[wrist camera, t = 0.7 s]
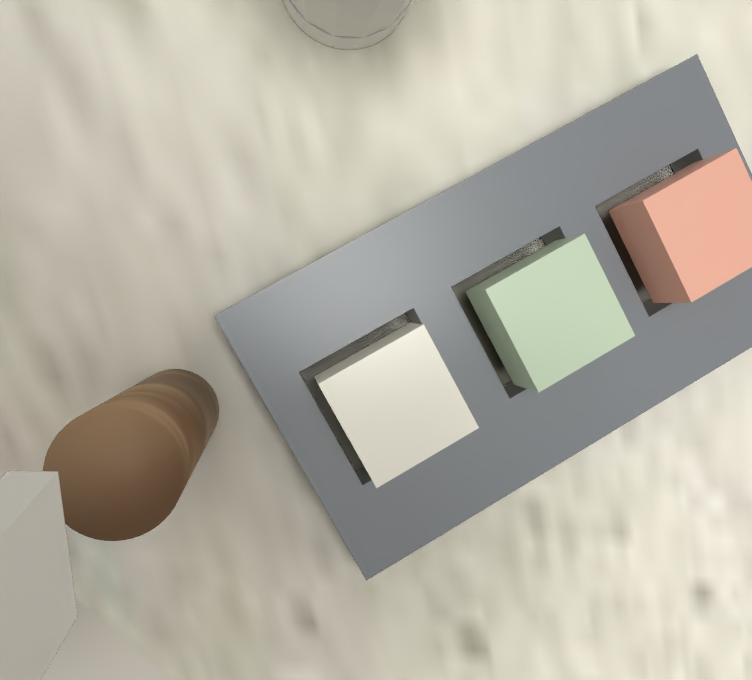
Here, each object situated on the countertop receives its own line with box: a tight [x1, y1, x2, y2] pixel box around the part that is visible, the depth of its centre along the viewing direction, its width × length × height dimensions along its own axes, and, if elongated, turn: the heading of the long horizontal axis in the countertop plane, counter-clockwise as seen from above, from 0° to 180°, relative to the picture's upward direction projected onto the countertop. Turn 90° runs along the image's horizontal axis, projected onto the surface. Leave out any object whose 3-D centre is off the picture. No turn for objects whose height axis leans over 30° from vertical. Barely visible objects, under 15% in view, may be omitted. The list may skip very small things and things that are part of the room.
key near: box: [314, 323, 479, 488], centre depth 29 cm, size 5×5×3 cm
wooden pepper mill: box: [43, 369, 219, 541], centre depth 26 cm, size 4×4×12 cm
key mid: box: [465, 234, 635, 393], centre depth 30 cm, size 5×5×3 cm
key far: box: [609, 148, 752, 303], centre depth 31 cm, size 5×5×3 cm
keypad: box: [214, 54, 752, 580], centre depth 32 cm, size 14×26×2 cm, turn 119°
